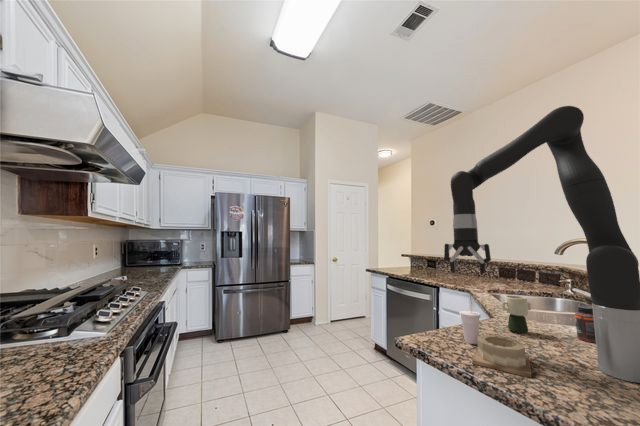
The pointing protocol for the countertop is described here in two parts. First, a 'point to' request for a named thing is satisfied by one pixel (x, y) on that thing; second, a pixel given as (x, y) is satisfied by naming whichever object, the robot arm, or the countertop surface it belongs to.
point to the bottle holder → (502, 355)
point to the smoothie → (470, 325)
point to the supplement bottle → (585, 324)
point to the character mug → (517, 312)
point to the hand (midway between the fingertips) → (467, 273)
